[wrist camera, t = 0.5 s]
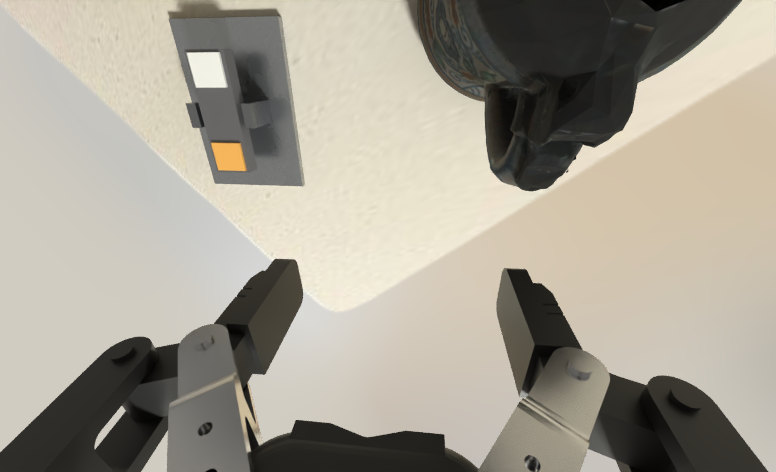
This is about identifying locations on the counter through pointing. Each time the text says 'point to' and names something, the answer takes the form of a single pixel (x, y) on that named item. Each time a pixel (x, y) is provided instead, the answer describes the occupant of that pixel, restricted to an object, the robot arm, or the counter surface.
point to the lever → (222, 108)
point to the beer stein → (557, 69)
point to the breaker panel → (250, 93)
